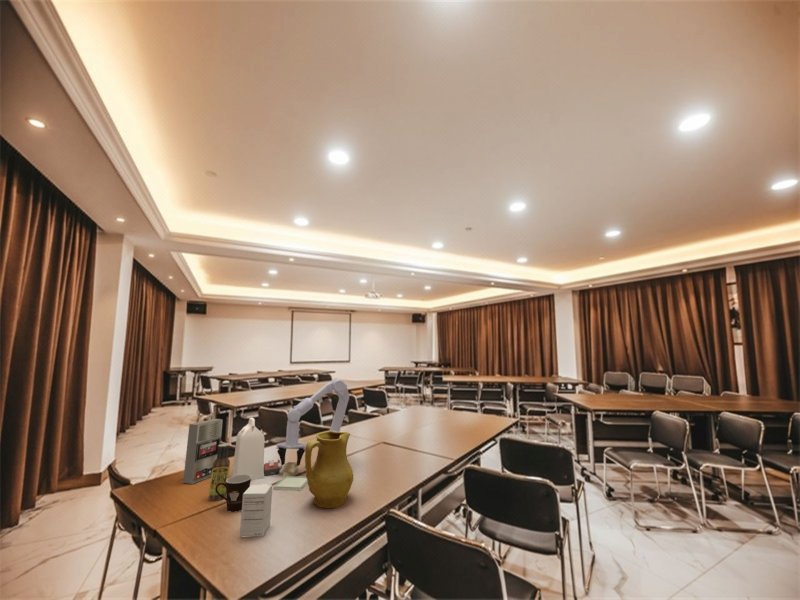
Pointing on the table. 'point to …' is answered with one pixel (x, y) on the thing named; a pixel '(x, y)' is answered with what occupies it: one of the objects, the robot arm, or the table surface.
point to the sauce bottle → (219, 473)
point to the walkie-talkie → (272, 468)
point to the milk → (249, 452)
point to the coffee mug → (235, 491)
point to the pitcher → (329, 469)
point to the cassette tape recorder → (202, 449)
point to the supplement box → (256, 510)
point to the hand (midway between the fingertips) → (290, 464)
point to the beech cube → (290, 469)
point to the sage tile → (291, 483)
